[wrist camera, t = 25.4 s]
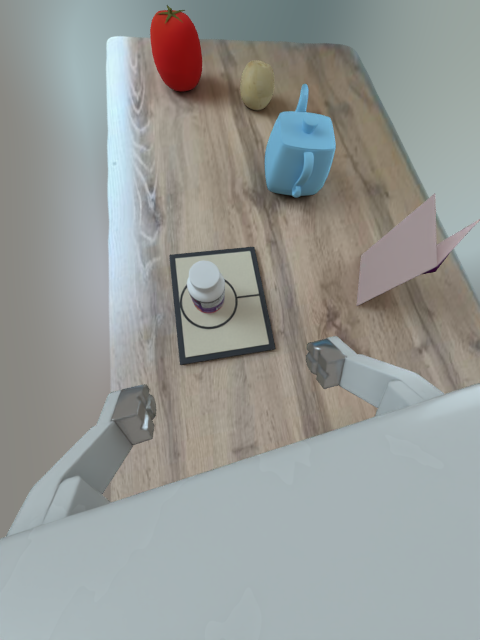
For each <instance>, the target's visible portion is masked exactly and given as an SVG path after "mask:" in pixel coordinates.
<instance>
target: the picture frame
mask: <svg viewBox="0 0 480 640" xmlns="http://www.w3.org/2000/svg"><path fill="white" fill-rule="evenodd" d="M199 261H210V262H212V263H214V264H215V265H216V266H217V267H218V269H219V272H220V273H221V274H222V275H223V277H224V280H225V299H224V304H223V306H222V308H221V309H220V310H219V311H217V312H216V313H213V314H205V313H202V312H200V311H199V310H198V309H197V308H196V307H195V305H194V303H193V301H192V298H191V296H190V294H189V291H188V288H187V280H188V277H189V270H190V268H191V267H192V265H193V264H195V263H196V262H199ZM170 266H171V276H172V286H173V297H174V307H175V317H176V327H177V338H178V348H179V358H180V365H183V364H190V363H196V362H202V361H208V360H214V359H220V358H226V357H232V356H238V355H244V354H250V353H256V352H262V351H268V350H274V349H275V344H274V339H273V335H272V330H271V325H270V320H269V315H268V311H267V306H266V301H265V296H264V292H263V287H262V282H261V277H260V273H259V268H258V263H257V258H256V253H255V249H254V247H246V248H236V249H226V250H215V251H205V252H195V253H185V254H174V255H170Z"/></svg>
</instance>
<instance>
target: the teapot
mask: <svg viewBox="0 0 480 640" xmlns="http://www.w3.org/2000/svg"><path fill="white" fill-rule="evenodd" d="M307 100H308V86H307V85H306V84H303V86H302V89H301V94H300V99H299V103H298V106H297V108H296V111H295V112H294V111H288V112H282V113H280V114H279V116H278V118H277V120H276V123H275V125H274V127H273V129H272V132H271V135H270V137H269V141H268V144H267V147H266V152H265V175H266V183H267V188H268V190H269V191H271V192H274V193H279V194H285V195H293V197H295V198H297V197H300V196H305V195H314V194H316V193H317V192H318V191H319V190H320V189H321V188H322V187H323V185H324V183H325V181H326V179H327V176H328V174H329V171H330V168H331V164H332V161H333V157H334V152H335V148H336V145H335V137H334V131H333V125H332V122H331V119H330V118H329V117H327V116H324V115H320V114H314V113H307V112H306V108H307Z"/></svg>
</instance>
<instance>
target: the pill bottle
mask: <svg viewBox="0 0 480 640" xmlns="http://www.w3.org/2000/svg"><path fill="white" fill-rule="evenodd" d="M187 288H188V291H189V294H190V296H191V298H192V301H193V303H194V305H195V307H196V308H197V309H198V310H199V311H200V312H202V313H205V314H213V313H216V312H217V311H219V310H220V309H221V308H222V306H223V304H224V299H225V280H224V277H223V275H222V274H221V273H220V272H219V269H218V267H217V266H216V265H215V264H214V263H212V262H210V261H199V262H196V263H195V264H193V265H192V267H191V268H190V270H189V277H188V280H187Z"/></svg>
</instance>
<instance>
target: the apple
mask: <svg viewBox="0 0 480 640" xmlns="http://www.w3.org/2000/svg"><path fill="white" fill-rule="evenodd" d="M240 91H241V97H242V100H243V102H244V104H245V105H246V106H247V107H249V108H250V109H253V110H261V109H263V108H265V107H266V106H267V105H268V104H269V102H270V101H271V98H272V95H273V91H274V73H273V70H272V68H271V66H270V65H268V64H266V63H265V62H262V61H251V62H250V63H248V64H247V66H246V67H245V69H244V71H243V74H242V77H241V84H240Z"/></svg>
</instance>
